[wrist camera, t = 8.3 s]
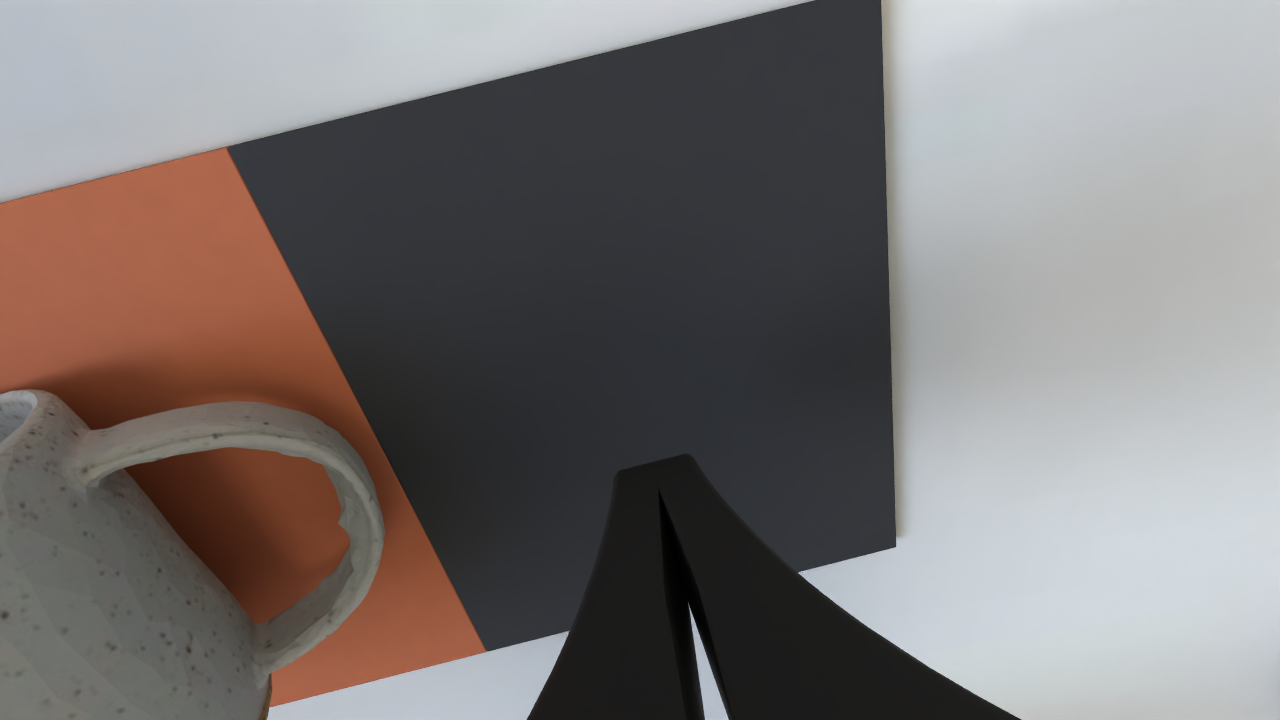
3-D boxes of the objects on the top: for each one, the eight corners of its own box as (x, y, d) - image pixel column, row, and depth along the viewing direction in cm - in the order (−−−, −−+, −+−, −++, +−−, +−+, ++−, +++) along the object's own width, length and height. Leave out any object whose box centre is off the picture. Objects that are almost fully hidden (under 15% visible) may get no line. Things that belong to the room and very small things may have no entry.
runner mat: (891, 540, 18) (896, 547, 17) (80, 747, 18) (72, 758, 17) (874, -15, 11) (881, -16, 11) (-417, 306, 11) (-440, 313, 11)
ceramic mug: (84, 697, 16) (-250, 1165, 9) (-214, 464, 12) (-1139, 967, 6) (459, 563, 16) (395, 945, 9) (273, 282, 12) (-77, 578, 5)
